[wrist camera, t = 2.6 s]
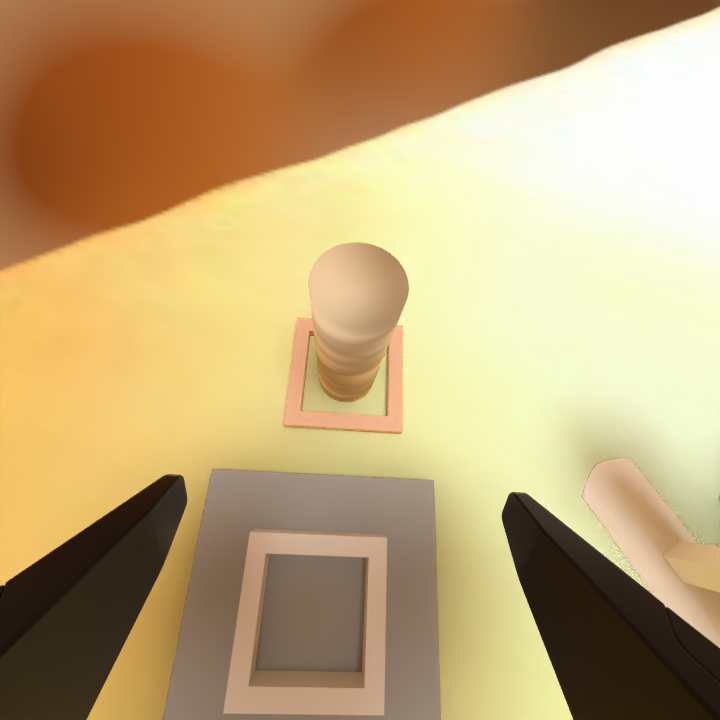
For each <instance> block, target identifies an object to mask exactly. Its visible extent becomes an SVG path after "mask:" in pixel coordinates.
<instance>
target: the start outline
mask: <svg viewBox="0 0 720 720" xmlns="http://www.w3.org/2000/svg"><path fill="white" fill-rule="evenodd" d="M310 335H314V327H313V319H309V318H297V323H296V331H295V339H294V347H293V354H292V362H291V370H290V378H289V385H288V393H287V401H286V409H285V417H284V424H283V425H284V426H285V427H299V428H316V429H332V430H349V431H366V432H382V433H399V434H400V433H402V432H403V326H398V325H396V327H395V330H394V332H393V335H392V337H391V340H390V342H389V345H388V362H387V413H386V416H375V415H359V414H344V413H328V412H312V411H302V402H303V393H304V384H305V375H306V366H307V357H308V348H309V339H310Z"/></svg>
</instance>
